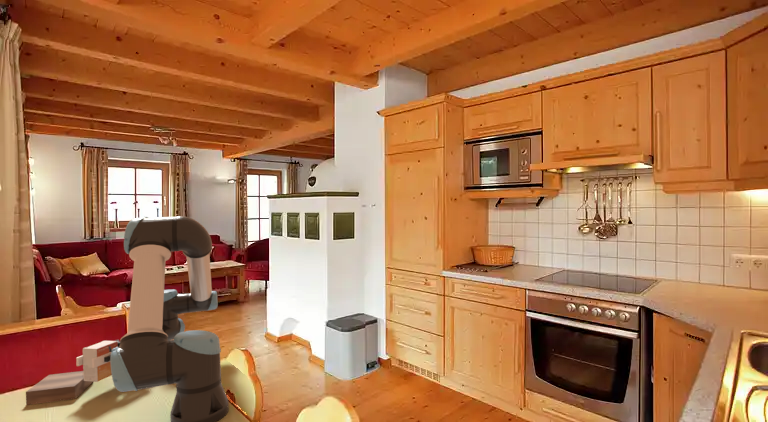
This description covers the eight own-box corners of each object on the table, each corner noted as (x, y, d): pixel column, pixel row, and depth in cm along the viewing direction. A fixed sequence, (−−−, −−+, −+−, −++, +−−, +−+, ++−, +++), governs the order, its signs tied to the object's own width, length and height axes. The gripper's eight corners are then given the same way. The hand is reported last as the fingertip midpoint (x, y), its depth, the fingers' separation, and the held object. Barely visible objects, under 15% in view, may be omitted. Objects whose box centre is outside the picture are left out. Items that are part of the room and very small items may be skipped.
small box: (97, 382, 128) (96, 349, 128) (83, 381, 129) (81, 348, 129) (119, 372, 136) (118, 340, 136) (105, 371, 137) (104, 340, 137)
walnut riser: (75, 398, 128) (74, 386, 128) (26, 404, 125) (25, 391, 125) (93, 381, 141) (93, 369, 141) (49, 386, 138) (49, 374, 138)
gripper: (168, 350, 147) (109, 377, 125) (127, 347, 152) (63, 372, 130) (167, 330, 147) (108, 352, 125) (126, 327, 152) (62, 348, 130)
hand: (85, 362), depth 127 cm, fingers closed on small box, 6 cm apart
